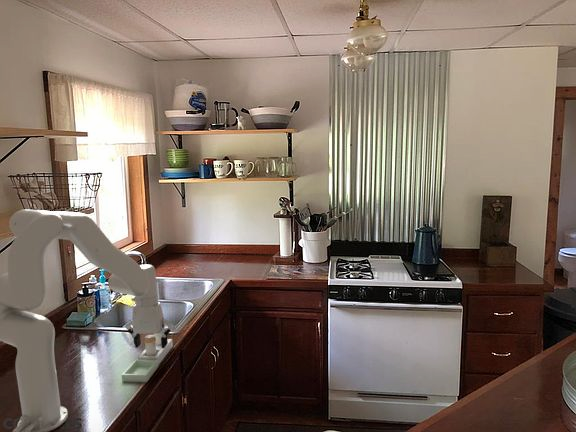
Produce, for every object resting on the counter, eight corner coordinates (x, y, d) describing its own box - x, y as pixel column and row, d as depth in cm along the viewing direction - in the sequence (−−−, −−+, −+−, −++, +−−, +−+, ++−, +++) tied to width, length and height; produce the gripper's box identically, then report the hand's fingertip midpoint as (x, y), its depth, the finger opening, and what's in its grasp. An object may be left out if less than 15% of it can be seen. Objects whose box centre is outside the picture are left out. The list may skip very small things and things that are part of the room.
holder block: (157, 365, 161) (157, 357, 160) (138, 365, 162) (137, 357, 161) (172, 346, 176) (172, 339, 175) (155, 346, 176) (154, 338, 176)
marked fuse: (155, 363, 163) (152, 339, 161) (144, 363, 163) (142, 339, 162) (159, 358, 166) (156, 334, 165) (149, 358, 167) (146, 334, 165)
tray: (146, 382, 150) (145, 375, 150) (122, 381, 151) (121, 374, 150) (158, 366, 160) (157, 360, 160) (135, 366, 161) (135, 359, 160)
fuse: (163, 352, 171) (161, 329, 169) (153, 352, 171) (151, 329, 169) (167, 348, 174) (165, 325, 173) (157, 348, 175) (155, 325, 173)
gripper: (117, 304, 158) (123, 351, 161) (166, 304, 156) (171, 351, 159) (127, 296, 166) (132, 341, 169) (174, 296, 164) (178, 341, 167)
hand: (151, 346), depth 164 cm, fingers open, 9 cm apart
